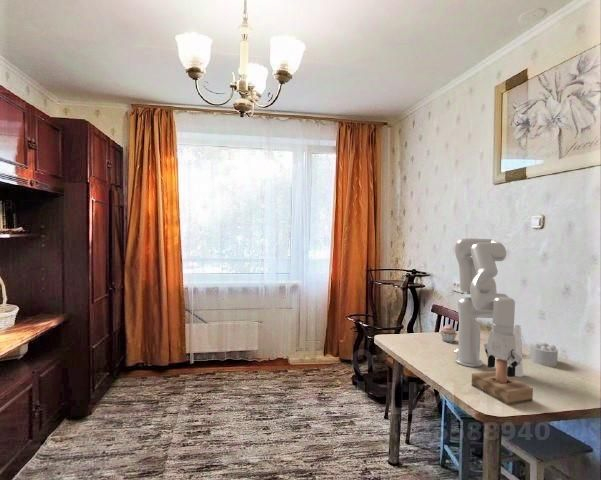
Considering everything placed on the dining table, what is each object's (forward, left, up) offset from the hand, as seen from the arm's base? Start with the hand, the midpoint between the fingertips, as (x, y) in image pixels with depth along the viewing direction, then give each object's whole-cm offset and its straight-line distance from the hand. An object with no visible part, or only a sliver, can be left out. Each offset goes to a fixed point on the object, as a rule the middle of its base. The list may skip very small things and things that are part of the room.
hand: (500, 371), depth 151 cm
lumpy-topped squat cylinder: (-23, +51, -9) cm, 56 cm away
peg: (0, 0, -7) cm, 7 cm away
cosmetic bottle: (-14, +23, -9) cm, 28 cm away
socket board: (0, 0, -8) cm, 8 cm away
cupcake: (-65, +28, -9) cm, 71 cm away
